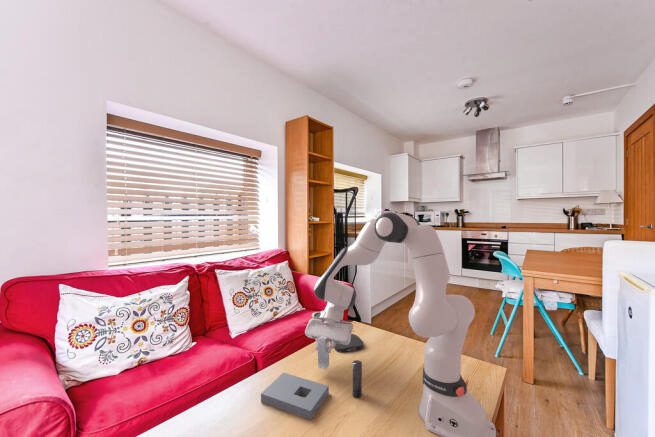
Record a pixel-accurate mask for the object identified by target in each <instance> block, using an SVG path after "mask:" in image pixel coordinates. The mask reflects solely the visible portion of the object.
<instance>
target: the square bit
mask: <svg viewBox="0 0 655 437" xmlns="http://www.w3.org/2000/svg"><path fill="white" fill-rule="evenodd" d="M329 346H330V342H329V337H328V336H323V335H321V336H320V337H319V338H318V350H317V368H318V369H322V370H327V369H328V368H329V367H330V353H327V352H326V349H327V347H329Z"/></svg>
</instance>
